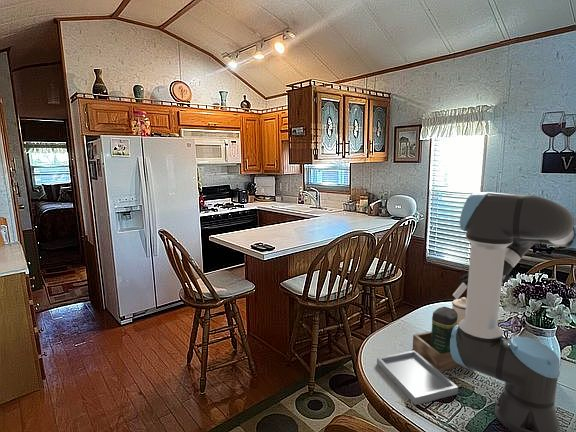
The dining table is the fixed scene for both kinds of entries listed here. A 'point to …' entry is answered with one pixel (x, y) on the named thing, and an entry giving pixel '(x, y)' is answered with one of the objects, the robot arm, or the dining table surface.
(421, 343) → the walnut tub
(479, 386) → the dining table surface
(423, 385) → the grey flat rectangular tray
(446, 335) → the coffee jar
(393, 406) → the dining table surface
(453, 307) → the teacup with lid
